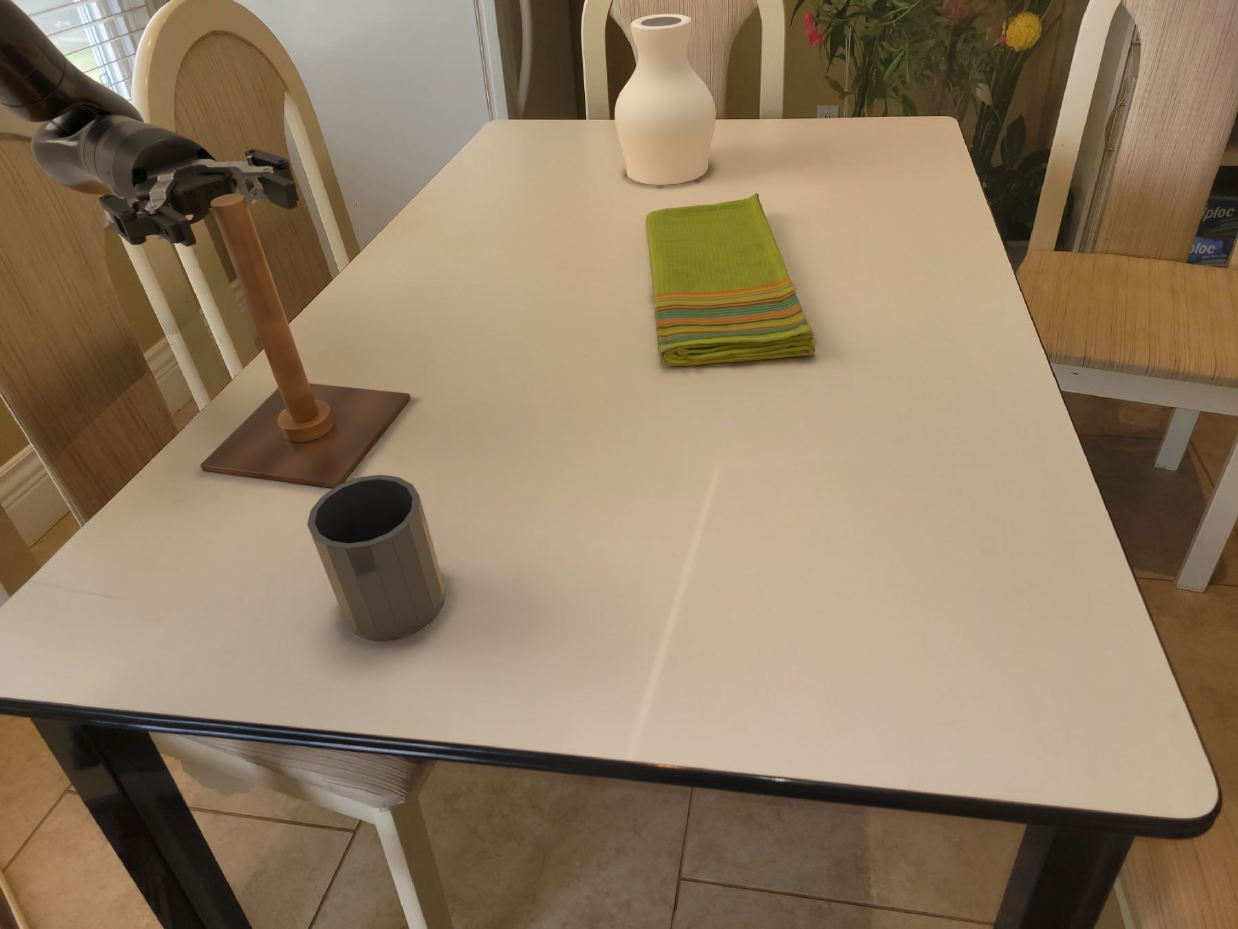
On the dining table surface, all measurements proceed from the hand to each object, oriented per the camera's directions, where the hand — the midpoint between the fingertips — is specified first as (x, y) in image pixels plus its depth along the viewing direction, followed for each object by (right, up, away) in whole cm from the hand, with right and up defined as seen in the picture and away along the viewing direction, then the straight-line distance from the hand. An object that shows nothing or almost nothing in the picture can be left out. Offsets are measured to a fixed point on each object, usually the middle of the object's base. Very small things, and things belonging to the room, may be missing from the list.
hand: (241, 214), depth 69 cm
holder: (+13, -29, -3) cm, 32 cm away
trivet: (0, -16, +15) cm, 22 cm away
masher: (0, -16, +14) cm, 21 cm away
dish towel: (+41, +1, +33) cm, 52 cm away
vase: (+36, +24, +61) cm, 75 cm away
